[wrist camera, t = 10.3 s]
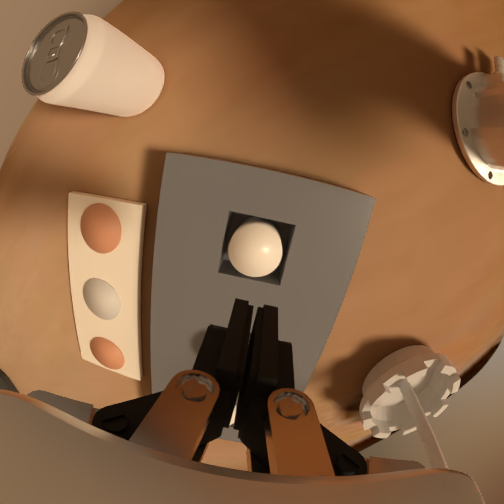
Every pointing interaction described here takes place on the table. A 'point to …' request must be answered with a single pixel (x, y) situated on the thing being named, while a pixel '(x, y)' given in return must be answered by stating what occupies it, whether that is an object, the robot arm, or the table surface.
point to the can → (91, 67)
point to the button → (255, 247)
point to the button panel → (231, 280)
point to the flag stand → (409, 395)
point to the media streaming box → (6, 383)
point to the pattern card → (107, 279)
